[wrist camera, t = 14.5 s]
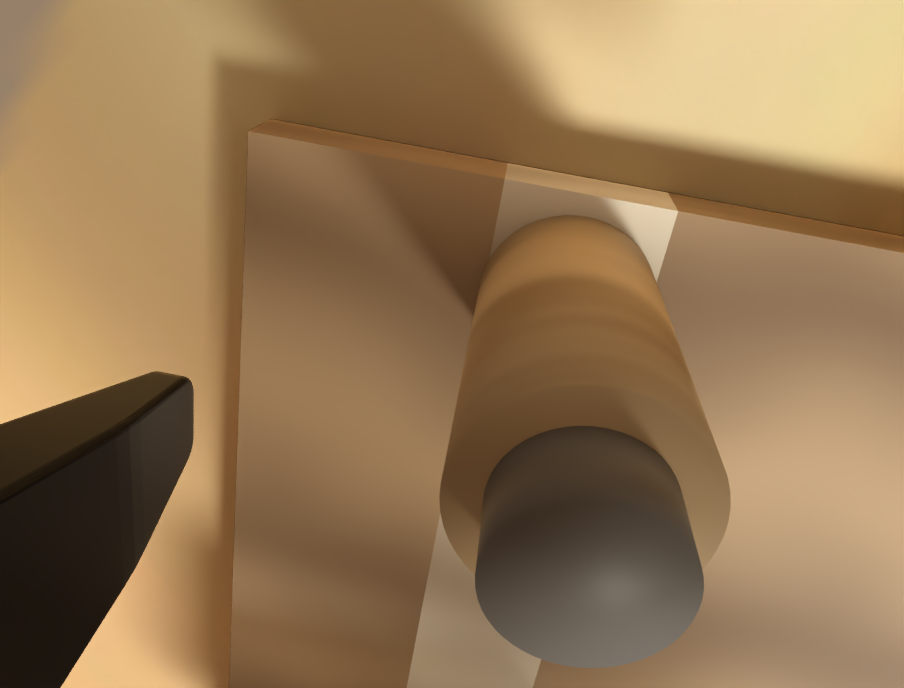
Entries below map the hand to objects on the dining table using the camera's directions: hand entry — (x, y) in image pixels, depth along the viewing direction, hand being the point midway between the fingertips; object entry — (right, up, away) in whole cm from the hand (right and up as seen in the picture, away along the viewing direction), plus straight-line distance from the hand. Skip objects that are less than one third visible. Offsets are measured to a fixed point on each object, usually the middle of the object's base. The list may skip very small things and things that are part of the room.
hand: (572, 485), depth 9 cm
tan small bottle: (+1, +2, +5) cm, 6 cm away
